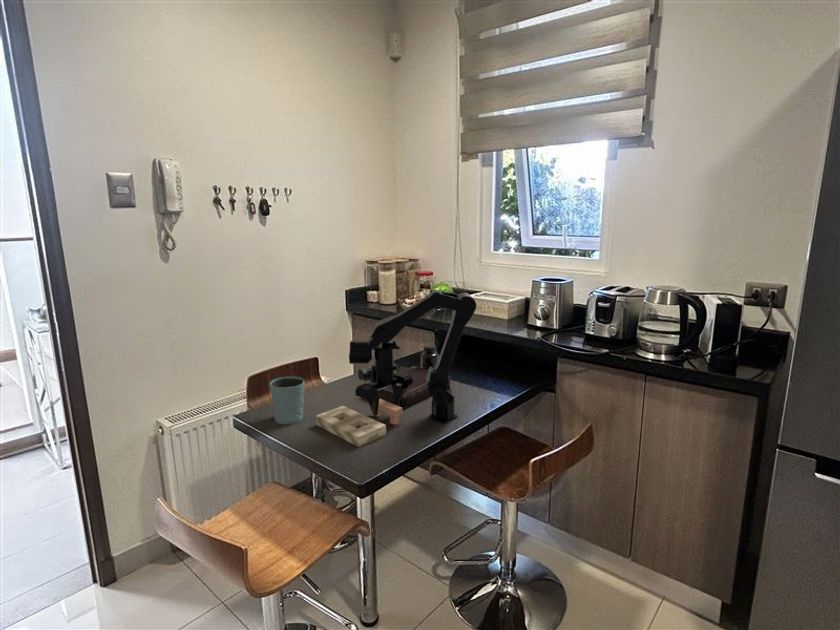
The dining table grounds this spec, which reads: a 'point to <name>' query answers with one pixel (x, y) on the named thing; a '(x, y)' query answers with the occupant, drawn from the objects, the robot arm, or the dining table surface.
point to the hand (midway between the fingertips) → (385, 411)
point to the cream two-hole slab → (351, 425)
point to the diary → (414, 391)
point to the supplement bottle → (429, 357)
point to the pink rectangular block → (390, 411)
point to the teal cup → (287, 399)
